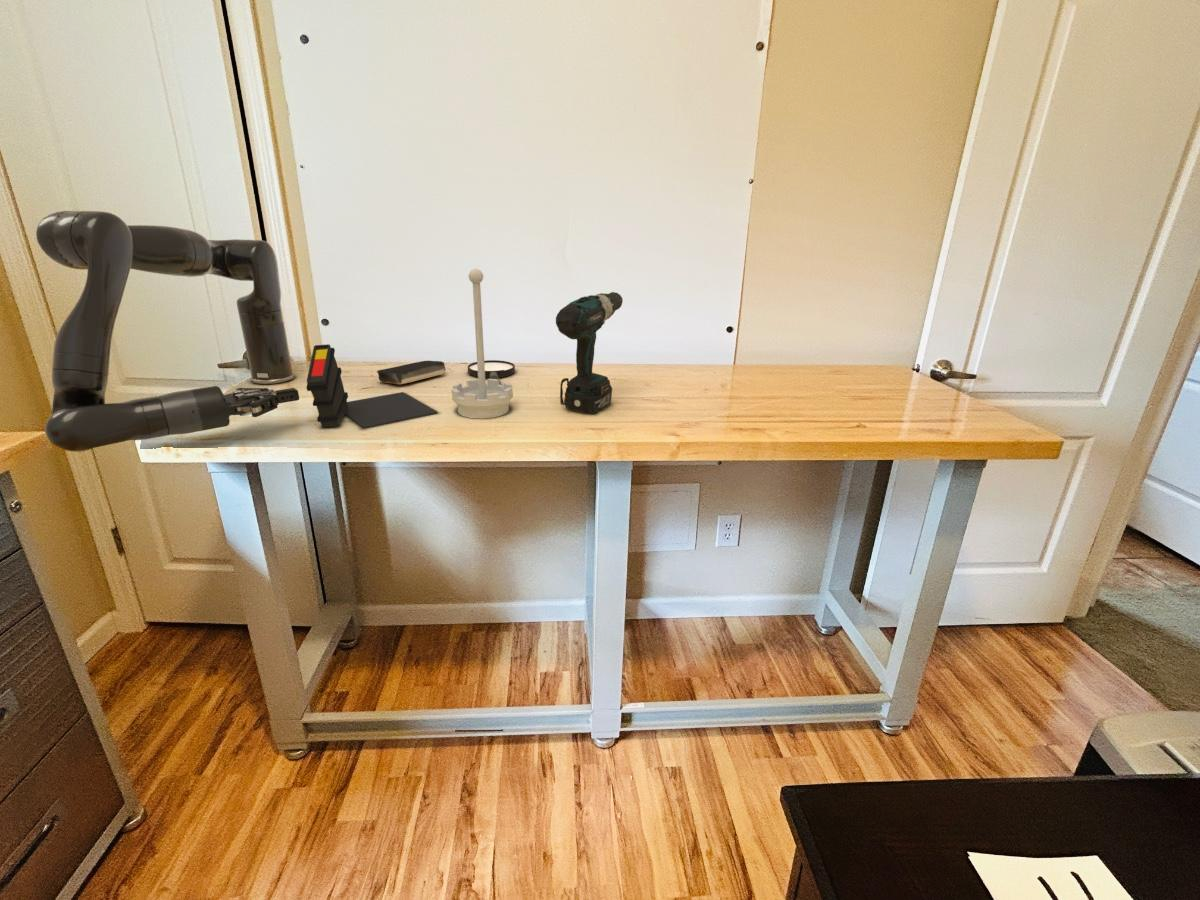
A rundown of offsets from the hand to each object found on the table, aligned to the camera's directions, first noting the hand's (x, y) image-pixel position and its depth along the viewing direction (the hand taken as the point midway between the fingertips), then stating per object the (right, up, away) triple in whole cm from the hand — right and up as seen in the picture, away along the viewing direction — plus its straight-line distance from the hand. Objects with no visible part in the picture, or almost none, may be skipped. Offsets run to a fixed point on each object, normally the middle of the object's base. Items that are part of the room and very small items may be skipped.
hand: (297, 393), depth 118 cm
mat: (+12, -2, +14) cm, 19 cm away
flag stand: (+34, -2, +15) cm, 37 cm away
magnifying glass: (+32, +7, +39) cm, 50 cm away
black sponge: (+12, +7, +36) cm, 38 cm away
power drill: (+58, -1, +20) cm, 61 cm away
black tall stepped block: (+5, -5, +6) cm, 9 cm away
